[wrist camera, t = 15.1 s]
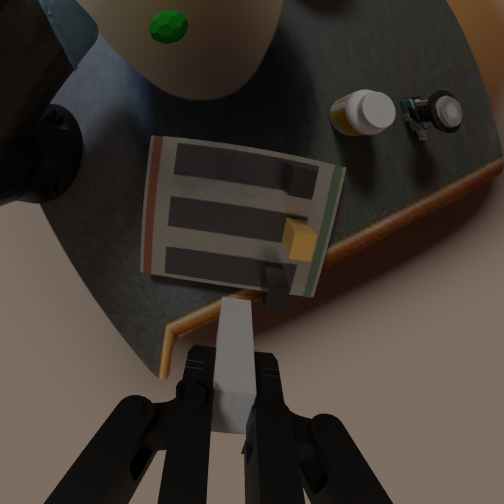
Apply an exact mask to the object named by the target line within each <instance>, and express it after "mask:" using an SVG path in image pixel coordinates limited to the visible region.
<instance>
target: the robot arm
mask: <svg viewBox="0 0 504 504" xmlns="http://www.w3.org/2000/svg"><path fill="white" fill-rule="evenodd" d="M97 37H98V27H97V24H96V23H95V21H94V20H93V19H92V18H91V16H90V15H89V14H88V13H87V12H86V11H85V9H84V8H83V7H82V6H81V5H80V4H79V3H78V2H77V1H76V0H0V206H3V205H5V204H8V203H10V202H13V201H23V202H29V203H44V202H47V201H50V200H53V199H55V198H57V197H59V196H60V195H62V194H63V193H64V192H65V191H66V190H67V189H68V188H69V187H70V185H71V184H72V182H73V180H74V179H75V176H76V174H77V172H78V169H79V165H80V161H81V155H82V139H81V133H80V129H79V126H78V124H77V121H76V120H75V118H74V116H73V115H72V114H71V113H70V112H69V111H68V110H67V109H66V108H64V107H62V106H60V105H56V104H49V103H50V102H51V101H52V99H53V98H54V96H55V95H56V93H57V92H58V91H59V89H60V88H61V86H62V85H63V84H64V82H65V81H66V80H67V78H68V77H69V76H70V75H71V73H72V72H73V71H75V70H76V69H77V67H78V64H79V62H80V61H81V60H82V58H83V57H84V56H85V55H86V53H87V52H88V51H89V49H90V48H91V47H92V46H93V45H94V43H95V42H96V40H97ZM245 430H246V440H245V443H244V446H243V449H242V453H241V454H244V461H245V462H244V463H245V464H244V466H245V504H305V499H304V492H303V488H304V490H305V492H306V494H307V496H308V498H309V500H310V502H311V504H393V503H392V501H391V500H390V498H389V497H388V495H387V493H386V492H385V490H384V489H383V487H382V485H381V484H380V483H379V481H378V479H377V478H376V476H375V474H374V473H373V471H372V470H371V468H370V467H369V465H368V463H367V462H366V460H365V459H364V457H363V455H362V454H361V452H360V451H359V449H358V448H357V446H356V444H355V443H354V441H353V440H352V438H351V436H350V435H349V433H348V432H347V430H346V428H345V427H344V425H343V424H342V422H341V421H340V420H339V419H338V418H337V417H335V416H333V415H330V414H319V415H316V416H314V417H313V419H310V418H306V417H302V416H299V415H296V414H294V413H293V412H291V411H290V410H289V408H288V407H287V406H286V405H285V403H284V399H283V392H282V386H281V379H280V373H279V367H278V361H277V359H276V358H275V357H274V355H273V354H272V353H264V352H254V349H253V333H252V314H251V301H249V300H241V299H234V298H227V297H222V304H221V311H220V318H219V325H218V332H217V339H216V347H209V346H202V345H194V346H193V347H192V348H191V349H190V350H189V352H188V356H187V361H186V365H185V370H184V374H183V379H182V380H181V381H179V382H178V384H177V386H176V398H174V399H173V400H171V401H168V402H163V403H152V402H151V401H150V400H149V399H147V398H146V397H143V396H139V395H131V396H128V397H125V398H124V399H123V400H121V401H120V403H119V404H118V405H117V407H116V408H115V409H114V410H113V412H112V413H111V414H110V416H109V417H108V418H107V420H106V421H105V422H104V423H103V425H102V426H101V428H100V429H99V430H98V431H97V433H96V434H95V436H94V437H93V438H92V439H91V441H90V442H89V443H88V445H87V446H86V447H85V449H84V450H83V451H82V453H81V454H80V455H79V457H78V458H77V459H76V461H75V462H74V463H73V465H72V466H71V467H70V469H69V470H68V471H67V473H66V474H65V476H64V477H63V478H62V480H61V481H60V482H59V484H58V485H57V486H56V488H55V489H54V491H53V492H52V493H51V495H50V496H49V497H48V499H47V500H46V501H45V503H44V504H128V503H129V501H130V499H131V498H132V496H133V494H134V492H135V491H136V489H137V487H138V485H139V483H140V482H141V480H142V478H143V476H144V474H145V473H146V471H147V469H148V467H149V465H150V464H151V462H152V460H153V458H154V456H155V455H156V453H157V451H159V450H167V451H166V457H165V462H164V467H163V473H162V479H161V486H160V492H159V499H158V504H206V499H207V481H208V480H207V479H208V465H209V449H210V434H211V431H214V432H223V433H233V434H245Z"/></svg>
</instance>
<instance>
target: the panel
mask: <svg viewBox="0 0 504 504" xmlns="http://www.w3.org/2000/svg"><path fill="white" fill-rule="evenodd" d="M345 172H346V168H345V167H341V166H337V165H333V164H329V163H325V162H321V161H316V160H312V159H307V158H303V157H298V156H293V155H288V154H283V153H278V152H273V151H268V150H262V149H256V148H251V147H244V146H238V145H232V144H225V143H218V142H210V141H202V140H194V139H185V138H175V137H164V136H152V135H151V141H150V148H149V156H148V164H147V173H146V182H145V193H144V204H143V218H142V236H141V263H140V272H143V273H145V274H155V275H160V276H166V277H172V278H179V279H185V280H191V281H198V282H204V283H211V284H217V285H224V286H231V287H238V288H245V289H252V290H260V291H261V292H262V300H263V307H264V310H271V311H280V312H285V308H286V304H287V300H288V296H289V294H291V295H299V296H303V297H314V294H315V290H316V287H317V283H318V280H319V276H320V273H321V269H322V266H323V262H324V258H325V255H326V251H327V247H328V243H329V240H330V236H331V232H332V228H333V224H334V220H335V216H336V211H337V207H338V203H339V199H340V194H341V190H342V185H343V181H344V176H345ZM286 217H287V218H293V219H299V220H304V221H306V222H307V223H308V225H309V226H310V227H311V228H312V229H313V231H314V232H315V233H316V234H317V238H316V242H315V246H314V250H313V254H312V258H311V262H308V261H301V260H294V259H289V258H288V255H287V253H286V250H285V248H284V245H283V243H282V236H283V231H284V227H285V222H286Z"/></svg>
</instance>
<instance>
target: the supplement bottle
mask: <svg viewBox="0 0 504 504" xmlns="http://www.w3.org/2000/svg"><path fill="white" fill-rule="evenodd" d="M330 119H331V122H332V124H333V126H334V127H335V129H336V130H337V131H339V132H340V133H342V134H344V135H348V136H358V135H374V134H378V133H380V132H381V131H383V130H384V129H385V128H386V127H388V126H390V125H391V124H392V123H393V121H394V119H395V107H394V104H393V102H392V101H391V99H390V98H389V97H388V96H386V95H385V94H383V93H380V92H374V91H371V90H359V91H356V92H354V93H352V94H349V95H347V96H344V97H342V98H340V99H338V100H337V101H335V102H334V104H333V105H332V107H331V110H330Z"/></svg>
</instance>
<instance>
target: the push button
mask: <svg viewBox="0 0 504 504" xmlns="http://www.w3.org/2000/svg"><path fill="white" fill-rule="evenodd" d="M439 96H440V97H441V98H438V97H439ZM401 105H402V107H403V109H404V112H405V114H403V117H404V120H405V121H408V122H409V124H410V127H411V129H412V131H416V132H417V134H418V136H419V139H420V140H427V136H426V133H425V132H426V131H425V129H427V128H429V127H431V126H434V127H435V128H437V129H438V130H440V131H443V132H446V133H453V132H456V131H457V130H458V129H459V127H460V125H461V122H462V110H461V107H460V105H459V103H458V101H457V99H456V98H455V97H454V96H453V95H452V94H451V93H449V92H447V91H444V90H441V91H437V92H435V93H434V94H432V95H431V96H430V97H429V98H428V100H421V98H420V97H419V96H417V97H412V98H409V99H406V100H403V101H401ZM405 116H406V118H407V119H406V118H405ZM444 126H448V127H444ZM420 135H421V136H422V138H421V137H420ZM424 135H425V138H424V137H423V136H424Z"/></svg>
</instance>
